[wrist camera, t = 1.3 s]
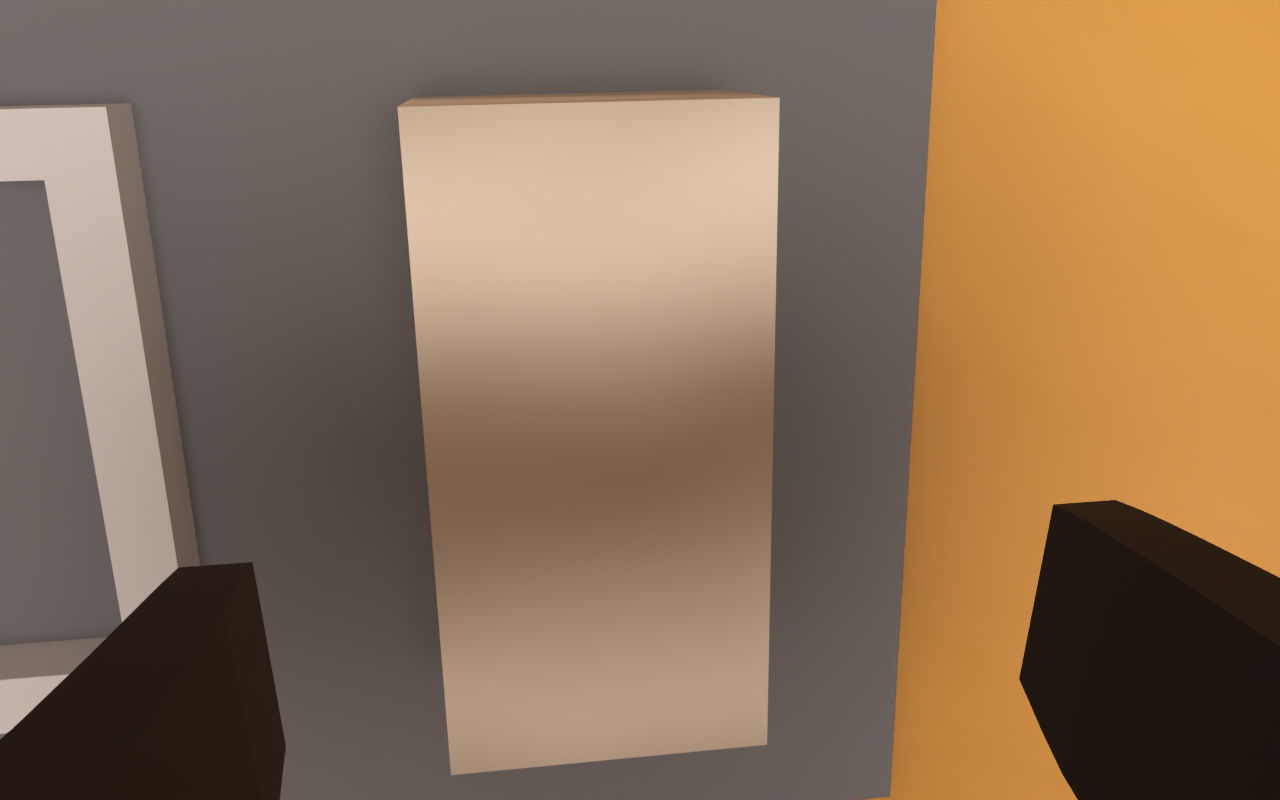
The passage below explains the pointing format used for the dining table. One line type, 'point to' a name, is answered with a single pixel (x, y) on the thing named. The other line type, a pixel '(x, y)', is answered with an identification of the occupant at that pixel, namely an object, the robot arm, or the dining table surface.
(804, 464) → the mat
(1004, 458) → the dining table surface
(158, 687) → the robot arm
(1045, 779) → the dining table surface
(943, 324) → the dining table surface
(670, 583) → the beige oblong block
